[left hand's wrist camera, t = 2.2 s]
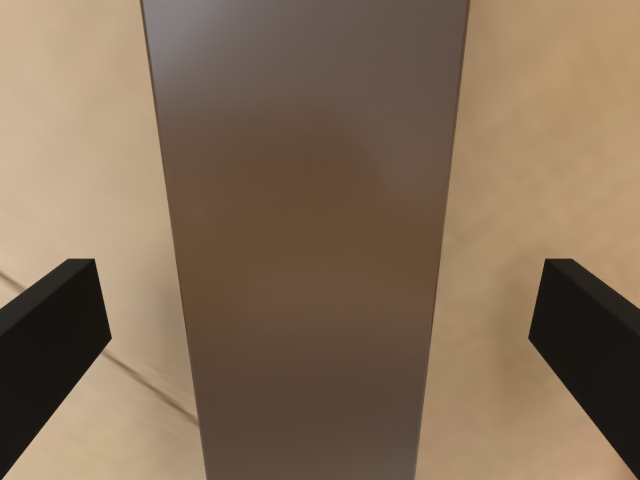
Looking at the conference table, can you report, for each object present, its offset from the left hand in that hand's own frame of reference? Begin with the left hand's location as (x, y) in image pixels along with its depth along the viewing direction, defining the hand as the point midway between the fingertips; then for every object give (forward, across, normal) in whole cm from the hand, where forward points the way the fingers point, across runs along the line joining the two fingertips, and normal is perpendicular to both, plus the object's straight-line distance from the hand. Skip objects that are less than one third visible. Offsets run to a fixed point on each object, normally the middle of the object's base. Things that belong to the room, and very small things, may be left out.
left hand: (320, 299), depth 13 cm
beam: (+4, 0, -17) cm, 18 cm away
